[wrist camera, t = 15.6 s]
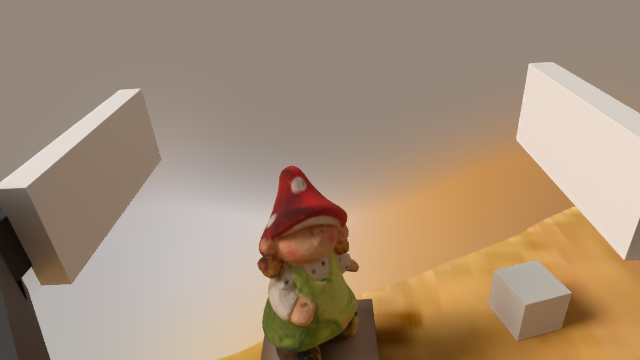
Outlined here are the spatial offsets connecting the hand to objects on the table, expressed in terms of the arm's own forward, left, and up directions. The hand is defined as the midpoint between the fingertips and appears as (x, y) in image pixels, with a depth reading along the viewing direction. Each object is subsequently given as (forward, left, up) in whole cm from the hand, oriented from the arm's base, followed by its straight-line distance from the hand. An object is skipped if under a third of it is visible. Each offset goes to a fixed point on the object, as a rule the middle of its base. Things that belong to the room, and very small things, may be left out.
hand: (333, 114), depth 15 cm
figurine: (+3, -16, -32) cm, 36 cm away
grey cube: (-22, -25, -38) cm, 50 cm away
